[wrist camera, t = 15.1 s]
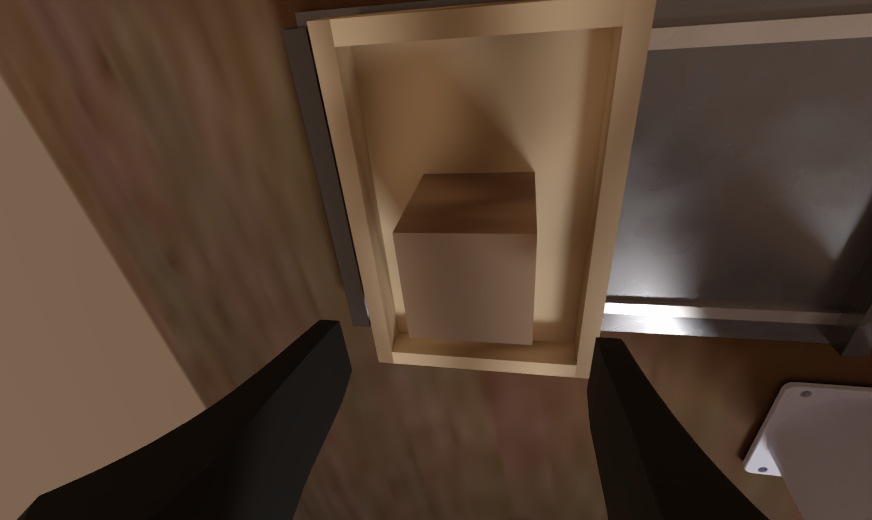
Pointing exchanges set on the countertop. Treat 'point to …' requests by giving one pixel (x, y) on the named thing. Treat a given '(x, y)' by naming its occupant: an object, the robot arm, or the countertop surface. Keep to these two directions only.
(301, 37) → the rail base
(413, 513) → the countertop surface
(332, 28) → the shallow wooden tray
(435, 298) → the part block
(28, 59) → the countertop surface
